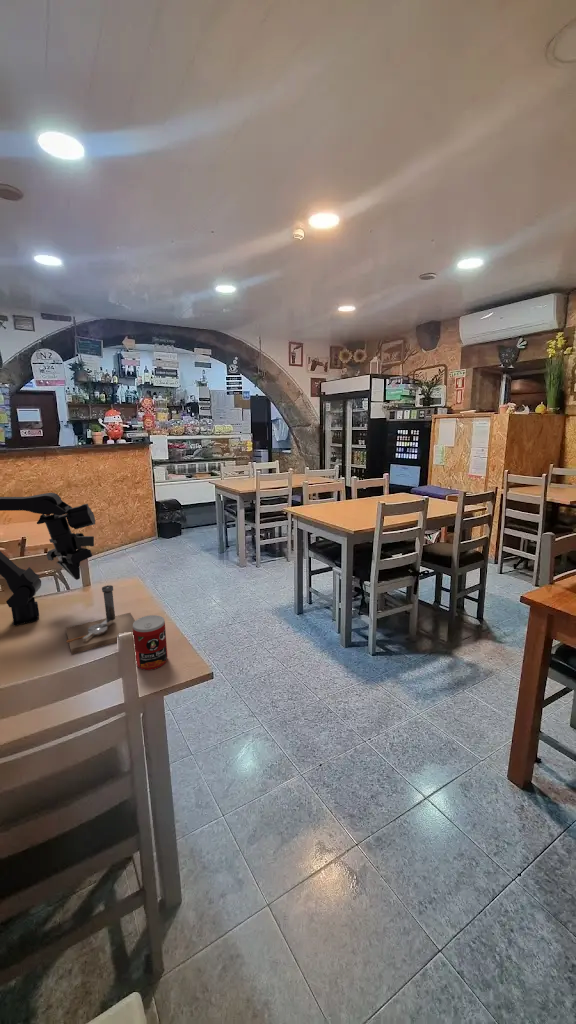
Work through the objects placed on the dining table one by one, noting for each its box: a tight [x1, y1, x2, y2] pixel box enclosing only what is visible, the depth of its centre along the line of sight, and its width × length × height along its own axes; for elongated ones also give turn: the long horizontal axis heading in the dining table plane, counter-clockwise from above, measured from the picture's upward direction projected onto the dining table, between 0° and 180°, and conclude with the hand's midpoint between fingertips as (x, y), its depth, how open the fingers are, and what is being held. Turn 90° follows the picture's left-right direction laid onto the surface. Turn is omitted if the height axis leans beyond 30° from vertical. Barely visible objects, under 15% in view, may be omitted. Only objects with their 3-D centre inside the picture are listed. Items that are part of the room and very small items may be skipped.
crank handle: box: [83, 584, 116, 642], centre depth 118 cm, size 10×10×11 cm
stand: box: [65, 612, 136, 655], centre depth 120 cm, size 19×14×2 cm
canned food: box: [133, 614, 168, 671], centre depth 105 cm, size 8×8×11 cm
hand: (77, 579), depth 132 cm, fingers closed
